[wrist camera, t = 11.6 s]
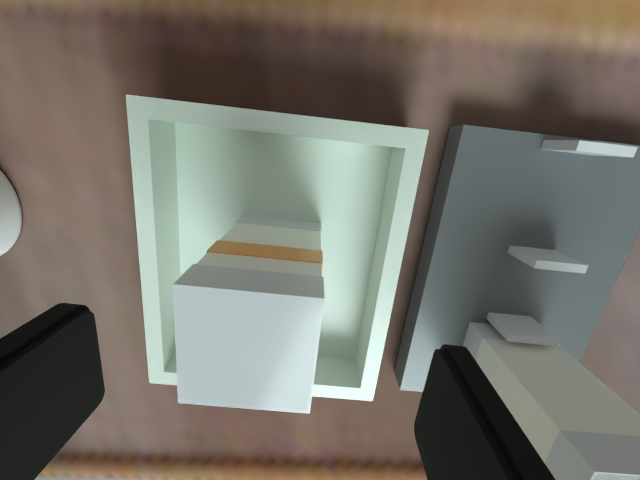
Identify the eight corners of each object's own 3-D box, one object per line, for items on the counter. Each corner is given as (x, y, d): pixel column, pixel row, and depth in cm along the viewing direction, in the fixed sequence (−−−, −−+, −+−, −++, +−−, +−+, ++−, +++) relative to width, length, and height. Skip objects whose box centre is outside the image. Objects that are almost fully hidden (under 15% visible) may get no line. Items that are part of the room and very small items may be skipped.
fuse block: (642, 148, 15) (731, 151, 12) (543, 384, 20) (587, 432, 17) (450, 125, 15) (487, 122, 12) (393, 371, 20) (409, 418, 16)
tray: (408, 131, 15) (429, 130, 12) (364, 362, 19) (372, 401, 17) (163, 103, 15) (125, 94, 12) (174, 346, 19) (149, 382, 16)
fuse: (541, 328, 17) (721, 481, 9) (518, 386, 18) (661, 562, 11) (469, 321, 17) (594, 472, 9) (451, 381, 18) (548, 555, 11)
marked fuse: (321, 222, 16) (324, 298, 8) (313, 292, 17) (309, 413, 10) (242, 214, 16) (172, 283, 8) (240, 285, 17) (178, 403, 9)
